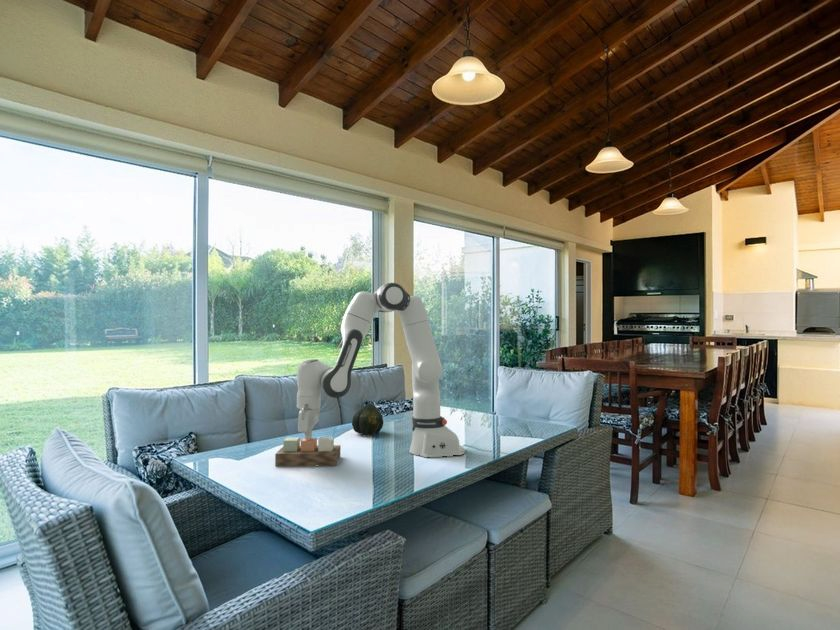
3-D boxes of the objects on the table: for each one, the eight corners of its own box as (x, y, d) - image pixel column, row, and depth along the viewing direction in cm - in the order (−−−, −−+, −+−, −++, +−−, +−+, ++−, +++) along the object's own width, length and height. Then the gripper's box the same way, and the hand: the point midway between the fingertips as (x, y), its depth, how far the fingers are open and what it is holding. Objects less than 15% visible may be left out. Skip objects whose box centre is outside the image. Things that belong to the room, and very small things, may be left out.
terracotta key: (316, 450, 188) (316, 437, 188) (314, 454, 183) (314, 440, 183) (303, 450, 188) (303, 437, 188) (300, 454, 183) (300, 440, 183)
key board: (340, 456, 192) (340, 445, 192) (335, 465, 180) (335, 453, 180) (283, 457, 192) (284, 445, 192) (275, 466, 180) (275, 453, 180)
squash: (348, 426, 221) (369, 400, 224) (345, 421, 236) (365, 397, 239) (371, 446, 223) (392, 420, 226) (367, 440, 238) (387, 415, 241)
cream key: (333, 450, 188) (333, 437, 188) (331, 453, 183) (331, 440, 183) (320, 450, 188) (320, 437, 188) (318, 453, 183) (318, 440, 183)
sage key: (299, 450, 188) (299, 437, 188) (296, 453, 183) (296, 440, 183) (286, 450, 188) (286, 437, 188) (283, 454, 183) (283, 440, 183)
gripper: (311, 407, 176) (311, 446, 175) (322, 398, 196) (321, 433, 196) (293, 407, 176) (293, 446, 175) (306, 398, 196) (306, 433, 196)
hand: (308, 439), depth 186 cm, fingers closed, pressing on terracotta key
